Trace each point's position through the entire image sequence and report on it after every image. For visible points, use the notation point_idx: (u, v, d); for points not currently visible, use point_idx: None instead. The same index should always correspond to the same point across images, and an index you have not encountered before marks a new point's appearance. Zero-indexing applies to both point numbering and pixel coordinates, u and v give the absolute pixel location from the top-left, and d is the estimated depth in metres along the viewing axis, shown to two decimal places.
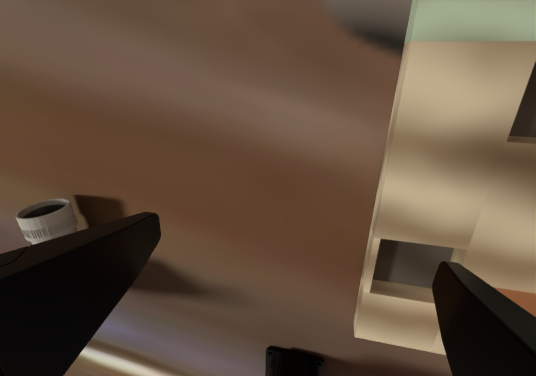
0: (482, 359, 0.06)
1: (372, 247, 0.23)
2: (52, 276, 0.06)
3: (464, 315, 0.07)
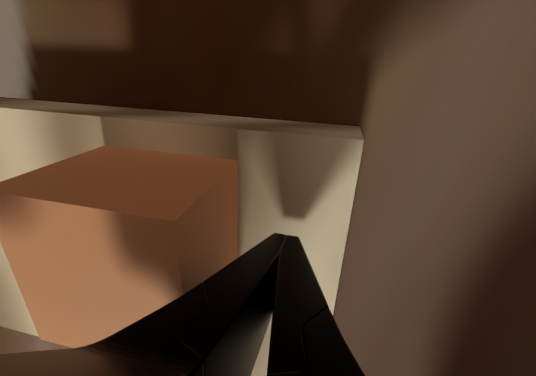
0: None
1: None
2: (243, 319, 0.06)
3: (276, 278, 0.07)
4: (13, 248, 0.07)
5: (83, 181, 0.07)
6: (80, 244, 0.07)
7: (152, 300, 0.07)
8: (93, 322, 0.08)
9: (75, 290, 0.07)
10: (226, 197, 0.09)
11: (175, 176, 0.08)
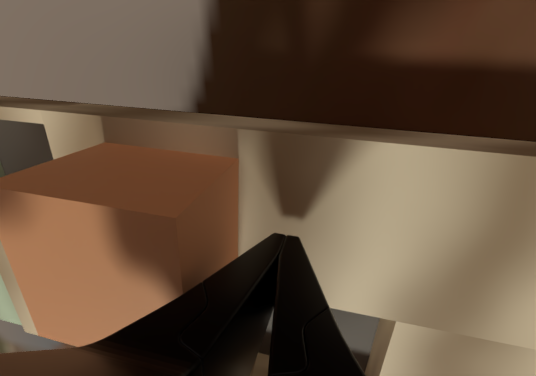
0: None
1: None
2: (242, 319, 0.06)
3: None
4: (12, 244, 0.07)
5: (83, 178, 0.07)
6: (79, 240, 0.07)
7: (151, 297, 0.07)
8: (92, 319, 0.08)
9: (74, 287, 0.07)
10: (226, 195, 0.09)
11: (175, 174, 0.08)
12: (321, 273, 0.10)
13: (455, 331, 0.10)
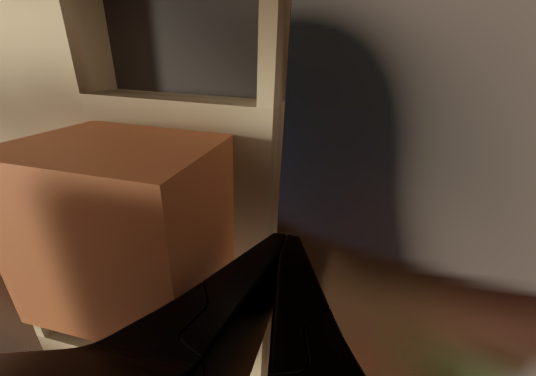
0: None
1: None
2: (242, 319, 0.06)
3: None
4: (88, 191, 0.06)
5: (193, 237, 0.07)
6: (130, 280, 0.06)
7: (95, 321, 0.07)
8: (31, 250, 0.07)
9: (65, 248, 0.06)
10: None
11: (213, 273, 0.09)
12: None
13: None
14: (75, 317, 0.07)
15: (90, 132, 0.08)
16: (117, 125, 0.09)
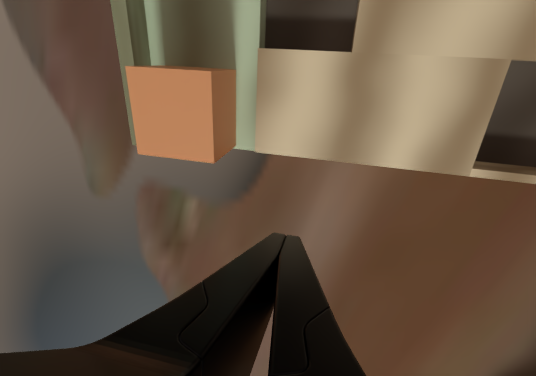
0: None
1: (486, 177, 0.17)
2: (242, 319, 0.06)
3: None
4: (135, 97, 0.16)
5: (166, 67, 0.16)
6: (168, 89, 0.16)
7: (198, 116, 0.16)
8: (168, 136, 0.17)
9: (162, 117, 0.16)
10: (230, 84, 0.18)
11: (206, 69, 0.17)
12: None
13: None
14: (199, 127, 0.16)
15: None
16: None
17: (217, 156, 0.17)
